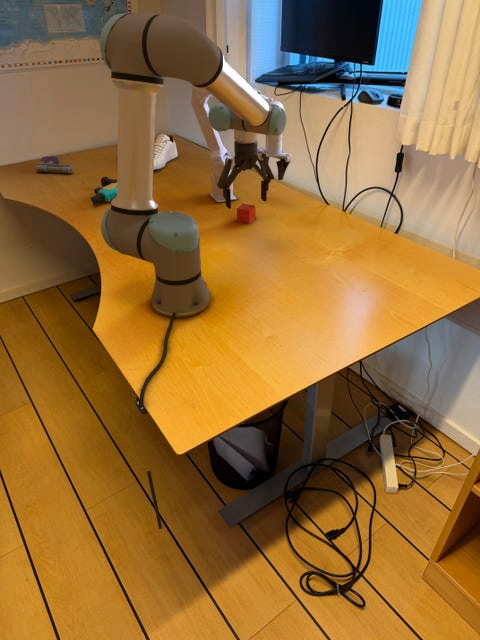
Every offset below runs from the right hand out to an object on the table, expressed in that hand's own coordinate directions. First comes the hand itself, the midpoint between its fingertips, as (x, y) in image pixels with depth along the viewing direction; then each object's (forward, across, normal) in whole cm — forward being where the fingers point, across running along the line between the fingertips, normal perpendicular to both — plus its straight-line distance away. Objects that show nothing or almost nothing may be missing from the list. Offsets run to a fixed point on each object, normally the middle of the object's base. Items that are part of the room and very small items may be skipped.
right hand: (272, 177), depth 175 cm
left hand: (+3, +4, -19) cm, 19 cm away
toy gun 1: (+9, -96, -34) cm, 102 cm away
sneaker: (+9, -67, 0) cm, 68 cm away
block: (+9, +4, -19) cm, 21 cm away
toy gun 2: (+9, -52, -38) cm, 65 cm away
